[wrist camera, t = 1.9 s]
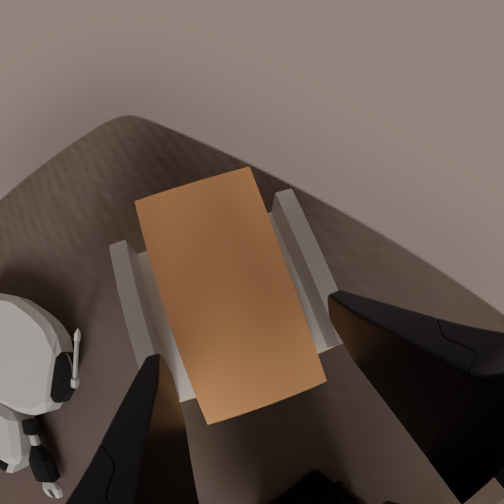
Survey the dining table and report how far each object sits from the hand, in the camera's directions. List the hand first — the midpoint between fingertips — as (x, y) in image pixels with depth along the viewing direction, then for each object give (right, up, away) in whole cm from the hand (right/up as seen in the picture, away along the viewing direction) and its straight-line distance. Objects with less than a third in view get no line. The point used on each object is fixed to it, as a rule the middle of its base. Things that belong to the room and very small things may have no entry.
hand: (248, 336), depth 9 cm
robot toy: (-18, -9, +10) cm, 22 cm away
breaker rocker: (-1, +1, +4) cm, 4 cm away
